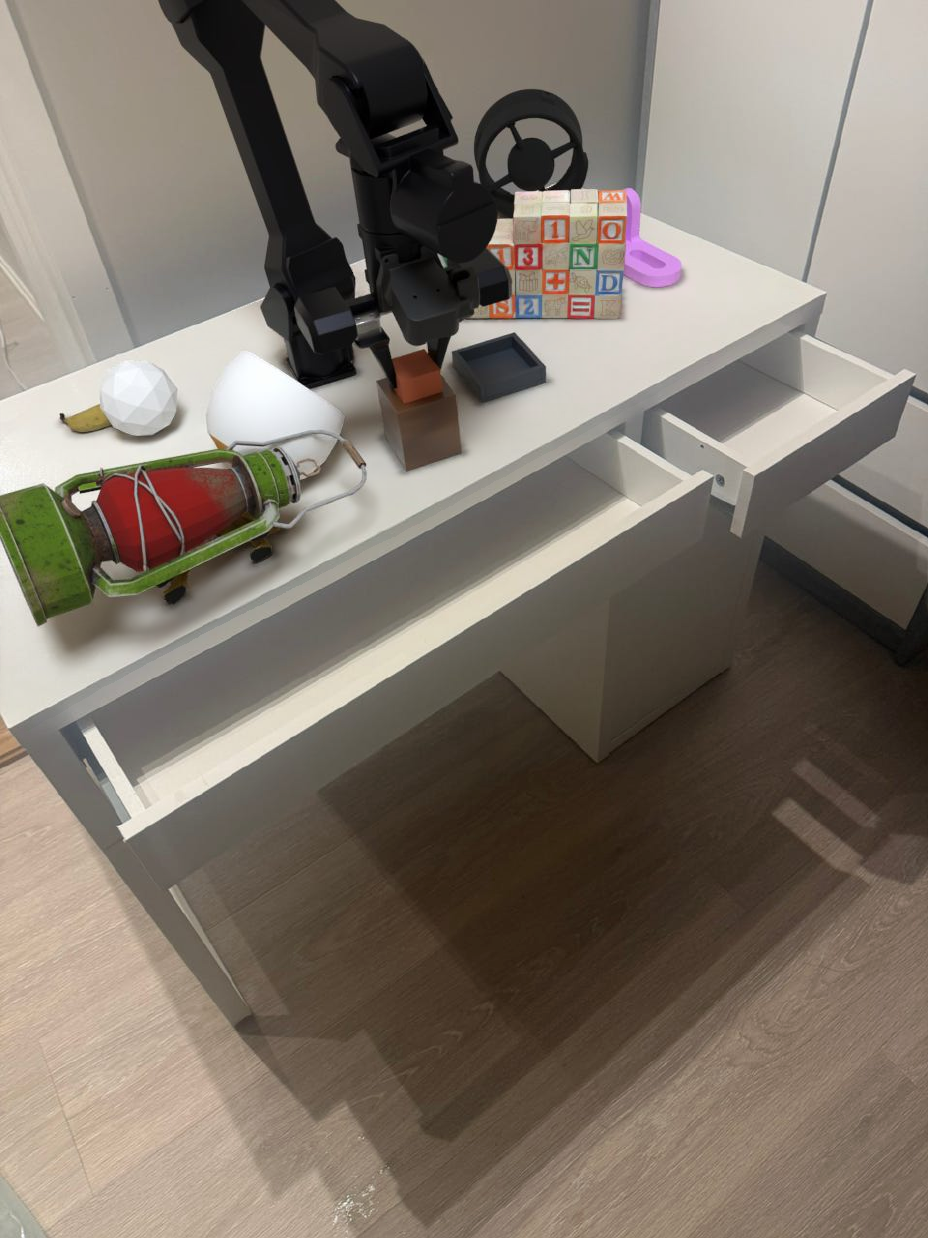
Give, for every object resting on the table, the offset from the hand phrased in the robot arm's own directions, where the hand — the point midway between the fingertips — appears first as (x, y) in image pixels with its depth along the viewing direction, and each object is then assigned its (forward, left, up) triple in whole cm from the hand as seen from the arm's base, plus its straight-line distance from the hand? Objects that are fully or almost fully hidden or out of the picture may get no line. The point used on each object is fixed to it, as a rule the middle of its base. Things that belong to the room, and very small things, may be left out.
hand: (414, 379), depth 88 cm
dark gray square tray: (+12, +7, -8) cm, 16 cm away
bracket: (+37, +20, -8) cm, 43 cm away
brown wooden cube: (0, 0, -8) cm, 8 cm away
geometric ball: (-25, +17, -8) cm, 31 cm away
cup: (-18, +1, -5) cm, 19 cm away
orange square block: (0, 0, -1) cm, 1 cm away
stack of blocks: (+21, +18, -8) cm, 29 cm away
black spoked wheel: (+30, +34, -1) cm, 45 cm away
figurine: (-24, -10, -6) cm, 27 cm away
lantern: (-38, -11, +3) cm, 39 cm away
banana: (-29, +19, -6) cm, 35 cm away
